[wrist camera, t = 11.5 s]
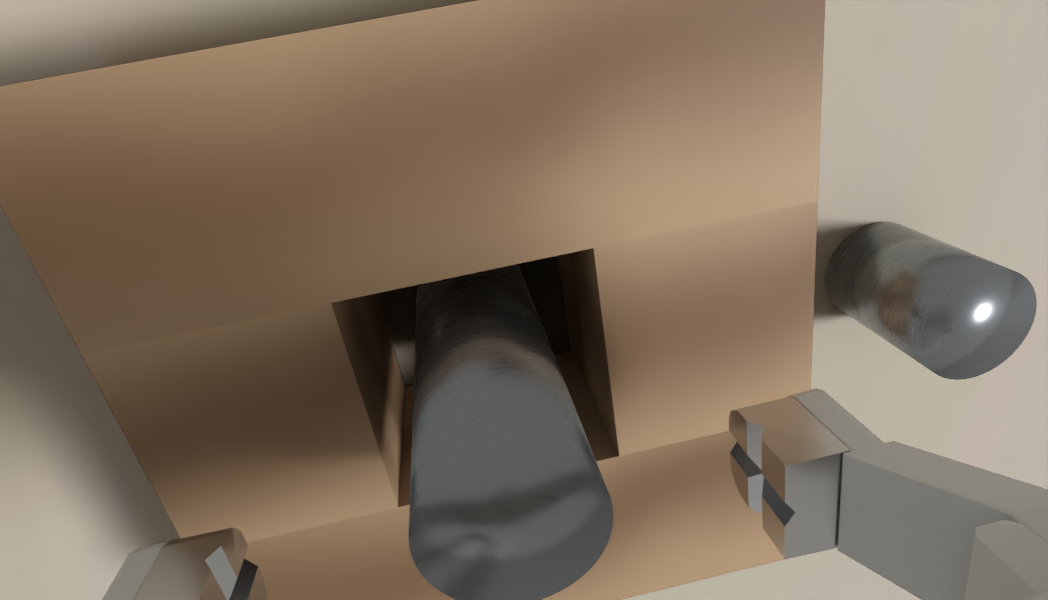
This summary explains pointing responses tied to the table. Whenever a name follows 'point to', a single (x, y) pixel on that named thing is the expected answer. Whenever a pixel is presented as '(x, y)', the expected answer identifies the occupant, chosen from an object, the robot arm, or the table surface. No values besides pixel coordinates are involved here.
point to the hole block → (435, 260)
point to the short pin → (931, 299)
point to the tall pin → (497, 448)
